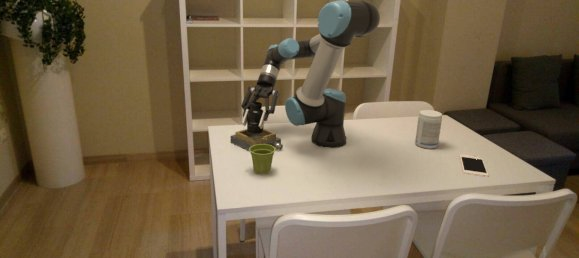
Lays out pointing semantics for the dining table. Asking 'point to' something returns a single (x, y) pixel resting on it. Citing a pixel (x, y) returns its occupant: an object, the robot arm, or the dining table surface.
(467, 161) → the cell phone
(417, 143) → the supplement tub
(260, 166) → the plant pot
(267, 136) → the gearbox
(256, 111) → the supplement bottle
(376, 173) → the dining table surface
